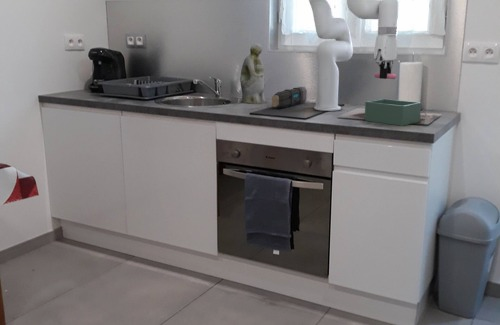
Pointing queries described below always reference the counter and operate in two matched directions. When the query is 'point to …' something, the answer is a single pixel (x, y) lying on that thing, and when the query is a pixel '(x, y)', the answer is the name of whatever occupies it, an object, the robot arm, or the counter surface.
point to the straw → (389, 76)
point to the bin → (392, 111)
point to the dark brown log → (289, 97)
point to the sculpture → (253, 77)
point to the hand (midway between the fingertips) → (385, 78)
